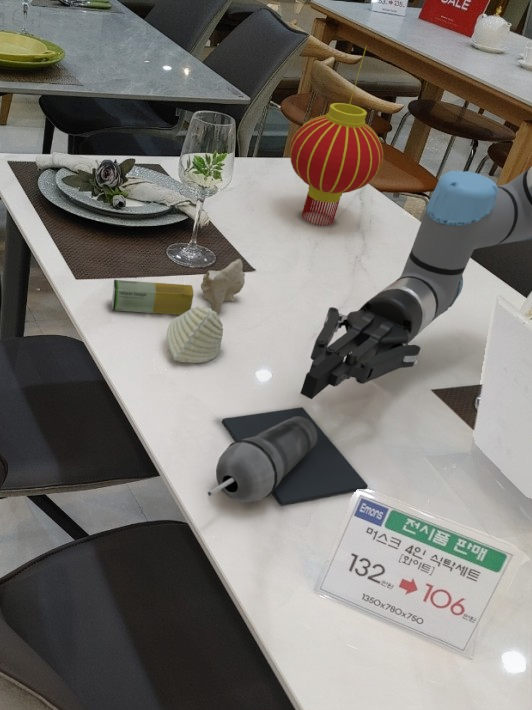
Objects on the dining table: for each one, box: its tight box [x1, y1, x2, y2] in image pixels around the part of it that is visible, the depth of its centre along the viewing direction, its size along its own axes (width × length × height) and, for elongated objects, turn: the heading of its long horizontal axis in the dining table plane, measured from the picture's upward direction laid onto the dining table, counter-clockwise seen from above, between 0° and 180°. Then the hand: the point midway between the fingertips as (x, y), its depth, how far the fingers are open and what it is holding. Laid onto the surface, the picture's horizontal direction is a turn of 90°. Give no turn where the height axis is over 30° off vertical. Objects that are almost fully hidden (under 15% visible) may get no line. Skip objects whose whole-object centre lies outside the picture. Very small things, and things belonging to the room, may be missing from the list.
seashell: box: [166, 306, 224, 364], centre depth 108 cm, size 8×8×8 cm
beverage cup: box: [207, 416, 317, 503], centre depth 87 cm, size 7×7×20 cm
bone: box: [200, 258, 246, 314], centre depth 118 cm, size 9×6×10 cm
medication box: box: [111, 279, 194, 316], centre depth 115 cm, size 12×3×4 cm, turn 94°
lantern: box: [288, 45, 384, 227], centre depth 140 cm, size 17×17×30 cm
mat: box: [221, 406, 369, 507], centre depth 95 cm, size 16×12×1 cm
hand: (309, 386), depth 86 cm, fingers closed
